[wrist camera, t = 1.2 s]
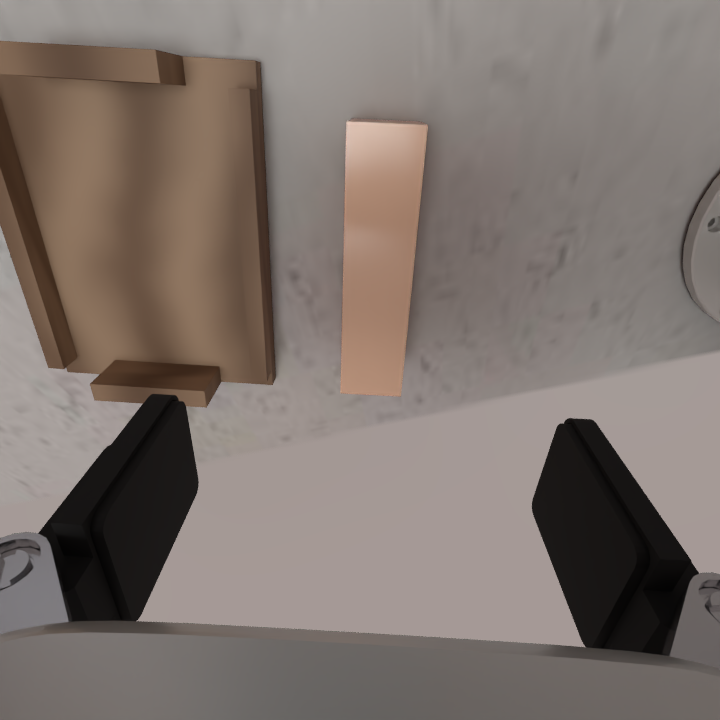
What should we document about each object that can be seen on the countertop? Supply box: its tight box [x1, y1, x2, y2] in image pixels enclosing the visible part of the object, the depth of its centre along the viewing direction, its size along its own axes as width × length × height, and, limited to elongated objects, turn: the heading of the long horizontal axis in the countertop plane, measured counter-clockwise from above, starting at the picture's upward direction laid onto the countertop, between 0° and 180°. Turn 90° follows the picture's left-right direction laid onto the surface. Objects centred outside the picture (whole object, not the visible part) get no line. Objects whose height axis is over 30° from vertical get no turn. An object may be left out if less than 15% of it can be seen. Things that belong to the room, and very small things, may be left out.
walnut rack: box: [0, 41, 276, 407], centre depth 25 cm, size 14×18×4 cm
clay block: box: [341, 118, 428, 396], centre depth 25 cm, size 4×14×5 cm, turn 178°
